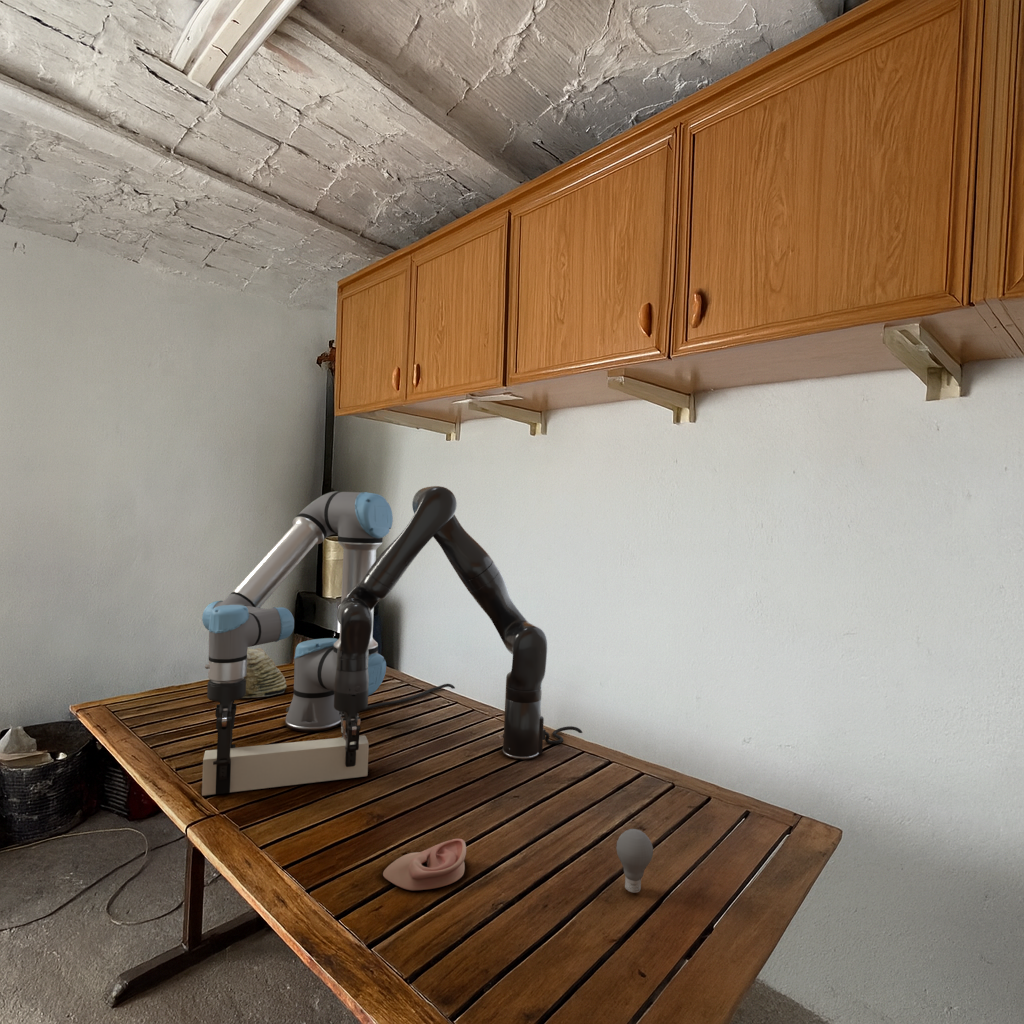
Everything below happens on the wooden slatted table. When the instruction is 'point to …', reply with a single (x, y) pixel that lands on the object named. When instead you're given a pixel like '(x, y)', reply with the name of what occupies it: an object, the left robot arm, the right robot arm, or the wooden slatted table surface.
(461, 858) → the anatomical model
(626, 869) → the light bulb
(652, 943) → the wooden slatted table surface
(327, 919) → the wooden slatted table surface
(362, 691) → the right robot arm
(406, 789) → the wooden slatted table surface
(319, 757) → the beam
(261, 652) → the fossil
